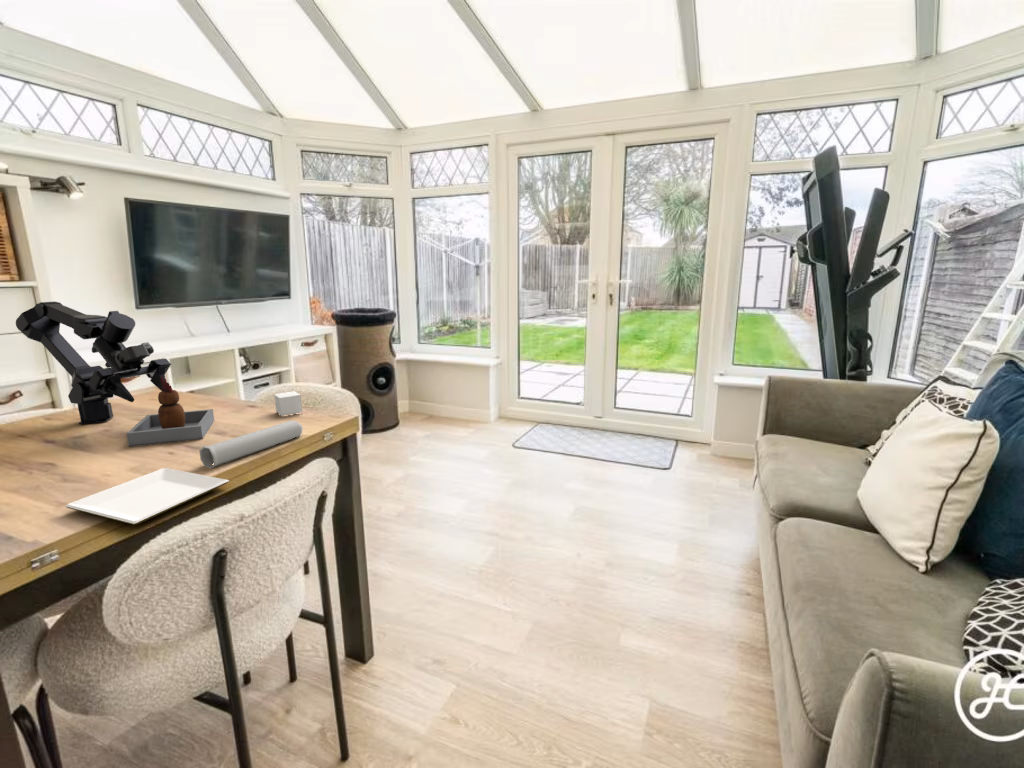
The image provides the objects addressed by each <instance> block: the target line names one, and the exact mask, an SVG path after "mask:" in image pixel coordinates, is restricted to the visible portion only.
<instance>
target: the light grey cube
mask: <svg viewBox="0 0 1024 768" xmlns="http://www.w3.org/2000/svg"><path fill="white" fill-rule="evenodd" d="M273 395H274V405H275V413H276V412H278V413H279V414H280V415H281V416H284V415H290V414H296V413H300V412H302V413H303V407H302V397H301V394H300V393H298V392H297V391H295V390H293V391H287V392H280V393H274V394H273ZM280 415H279V416H280ZM281 416H280V417H281Z"/></svg>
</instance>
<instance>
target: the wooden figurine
mask: <svg viewBox="0 0 1024 768" xmlns="http://www.w3.org/2000/svg"><path fill="white" fill-rule="evenodd" d="M161 384H162V391H161V390H160V392H158V396H157V400H158V403H159V404H160V405H159V408H158V409H157V411H158V412H157V414H158V417H159V422H160V425H161V427H162V429H167V428H177V427H184V426H185V413H184V412H185V410H184V407H183V405H181V404H180V403H178V402H179V401H180V395H179V393H178V391H177V390H175V389H173V388H172V386H171V385H170V383H169V382H168V380H167V378H166V377H165V378H164V380H163V377H162V376H161Z"/></svg>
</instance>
